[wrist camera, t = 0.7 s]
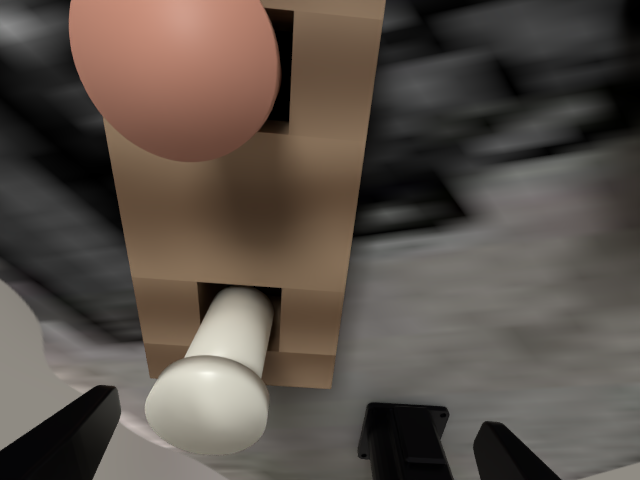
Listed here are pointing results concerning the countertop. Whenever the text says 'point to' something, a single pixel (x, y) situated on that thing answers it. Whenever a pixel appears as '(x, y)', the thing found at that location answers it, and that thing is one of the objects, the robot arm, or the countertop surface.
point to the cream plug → (218, 379)
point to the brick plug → (178, 71)
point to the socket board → (261, 204)
